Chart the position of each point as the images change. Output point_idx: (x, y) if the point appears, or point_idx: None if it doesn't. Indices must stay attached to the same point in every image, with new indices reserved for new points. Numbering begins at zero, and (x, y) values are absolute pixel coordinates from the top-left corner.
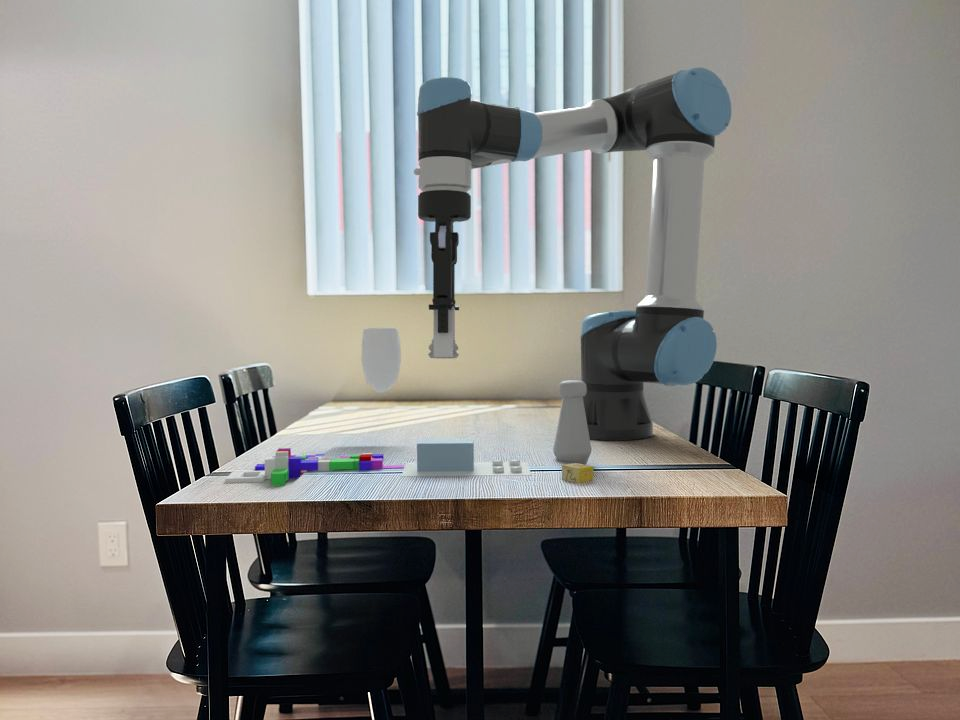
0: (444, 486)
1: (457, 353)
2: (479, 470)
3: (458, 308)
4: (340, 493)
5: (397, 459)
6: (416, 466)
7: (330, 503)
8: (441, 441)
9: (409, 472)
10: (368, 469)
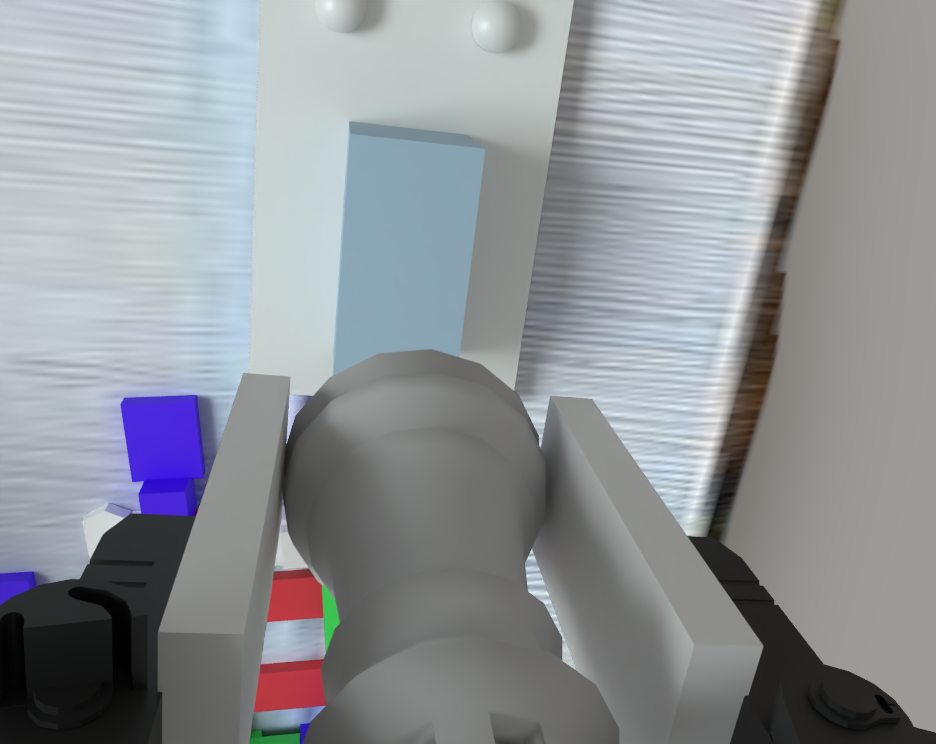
0: (581, 252)
1: (432, 364)
2: (454, 107)
3: (143, 605)
4: None
5: (23, 427)
6: None
7: None
8: (411, 292)
9: None
10: None
